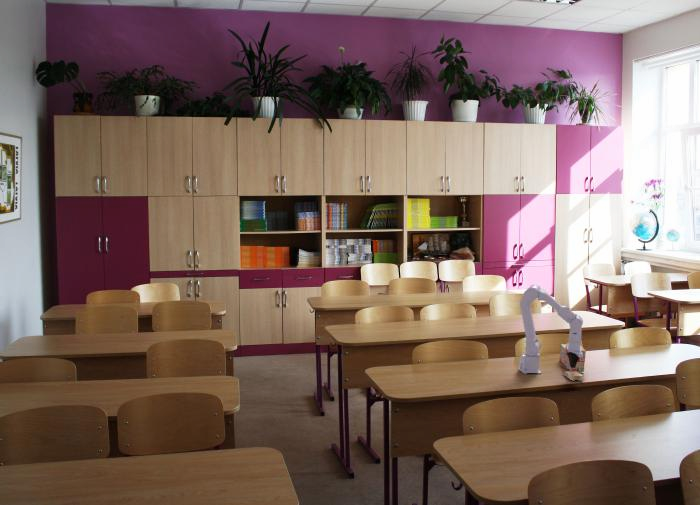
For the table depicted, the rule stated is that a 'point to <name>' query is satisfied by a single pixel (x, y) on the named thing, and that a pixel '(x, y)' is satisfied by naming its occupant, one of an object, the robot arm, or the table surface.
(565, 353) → the beige printed box
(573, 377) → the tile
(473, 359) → the table surface
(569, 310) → the robot arm
